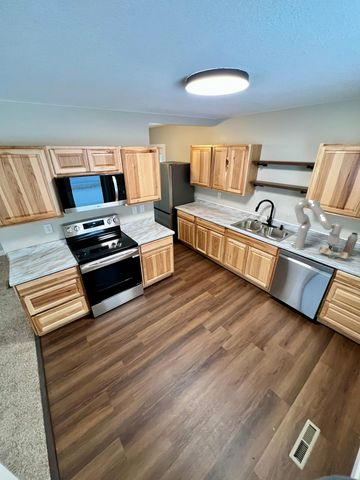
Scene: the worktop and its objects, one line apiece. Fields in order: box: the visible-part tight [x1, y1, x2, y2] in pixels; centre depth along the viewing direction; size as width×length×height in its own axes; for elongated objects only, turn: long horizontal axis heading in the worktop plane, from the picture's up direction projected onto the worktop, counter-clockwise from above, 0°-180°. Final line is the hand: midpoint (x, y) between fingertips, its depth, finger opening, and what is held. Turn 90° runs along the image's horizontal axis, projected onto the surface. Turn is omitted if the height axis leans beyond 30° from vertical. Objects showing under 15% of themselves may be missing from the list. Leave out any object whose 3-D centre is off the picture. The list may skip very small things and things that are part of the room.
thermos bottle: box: [342, 232, 359, 258], centre depth 218 cm, size 8×8×28 cm
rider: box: [332, 246, 340, 252], centre depth 216 cm, size 5×5×7 cm
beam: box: [318, 246, 348, 260], centre depth 219 cm, size 26×6×8 cm, turn 52°
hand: (329, 248), depth 219 cm, fingers closed
